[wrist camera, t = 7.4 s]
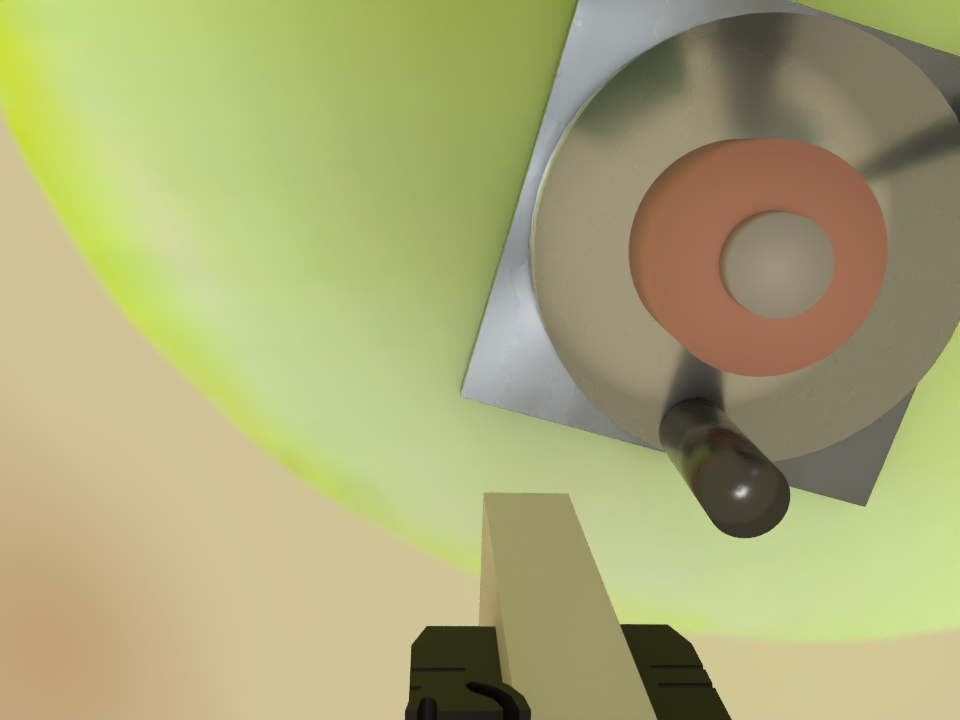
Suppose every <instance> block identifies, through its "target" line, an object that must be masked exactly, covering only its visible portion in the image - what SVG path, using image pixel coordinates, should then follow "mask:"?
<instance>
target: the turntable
mask: <svg viewBox="0 0 960 720" xmlns="http://www.w3.org/2000/svg"><path fill="white" fill-rule="evenodd" d="M728 139H784V140H794V141H801V142H805V143H809V144H813V145H816V146H819V147H821V148H824V149H826V150H828V151H830V152H832V153H834V154H835V155H837V156H839V157H841V158H842V159H843V160H845V161H846V162H847V163H848V164H850V165H851V166H852V167H853V168H854V169H855V170H856V171H857V172H858V173H859V174H860V175H861V176H862V177H863V178H864V180H865V181H866V182H867V184H868V185H869V187H870V188H871V190H872V191H873V193H874V195H875V197H876V199H877V201H878V203H879V205H880V208H881V211H882V214H883V217H884V221H885V226H886V231H887V243H888V254H887V266H886V271H885V276H884V280H883V283H882V286H881V289H880V292H879V295H878V297H877V299H876V301H875V303H874V305H873V308H872V309H871V311H870V313H869V314H868V316H867V317H866V319H865V320H864V322H863V323H862V325H861V326H860V327H859V328H858V329H857V331H856V332H855V333H854V334H853V335H852V336H851V337H850V338H849V339H848V340H847V341H846V342H845V343H844V344H843V345H842V346H841V347H839V348H838V349H837V350H835V351H834V352H833V353H832V354H830V355H829V356H827V357H825V358H824V359H822V360H820V361H819V362H817V363H815V364H813V365H810V366H808V367H806V368H804V369H801V370H798V371H794V372H791V373H788V374H782V375H776V376H765V377H753V376H742V375H737V374H733V373H728V372H725V371H723V370H720V369H717V368H714V367H713V366H711V365H709V364H707V363H705V362H703V361H701V360H700V359H698V358H697V357H696V356H694V355H693V354H691V353H690V352H689V351H688V350H687V349H686V348H685V347H684V346H682V345H681V344H680V343H679V342H678V341H677V340H676V339H675V338H674V337H673V336H672V335H671V334H669V333H668V332H667V331H666V330H665V329H664V328H663V327H662V326H661V325H660V324H659V323H658V322H657V321H656V320H654V318H653V317H652V316H651V315H650V313H649V312H648V311H647V310H646V308H645V307H644V305H643V303H642V302H641V300H640V298H639V296H638V294H637V291H636V289H635V287H634V284H633V280H632V276H631V273H630V265H629V239H630V231H631V227H632V224H633V220H634V216H635V214H636V212H637V209H638V207H639V204H640V202H641V201H642V199H643V197H644V195H645V193H646V192H647V190H648V189H649V187H650V186H651V185H652V183H653V182H654V181H655V179H656V178H657V177H658V176H659V175H660V174H661V173H662V172H663V171H664V170H665V169H666V168H667V167H668V166H670V165H671V164H672V163H673V162H675V161H676V160H677V159H679V158H680V157H682V156H683V155H685V154H687V153H688V152H690V151H692V150H694V149H697V148H699V147H701V146H704V145H707V144H710V143H713V142H717V141H722V140H728ZM530 271H531V277H532V283H533V289H534V296H535V300H536V303H537V306H538V310H539V313H540V316H541V320H542V323H543V325H544V327H545V330H546V332H547V334H548V336H549V338H550V341H551V343H552V345H553V347H554V349H555V351H556V353H557V356H558V358H559V360H560V361H561V363H562V364H563V366H564V367H565V369H566V371H567V372H568V374H569V375H570V377H571V378H572V380H573V382H574V383H575V384H576V385H577V386H578V388H579V389H580V390H581V391H582V392H583V394H584V395H585V396H586V397H587V398H588V399H589V401H590V402H591V403H592V404H593V405H594V406H595V407H597V408H598V409H599V410H600V411H601V412H602V413H603V414H604V415H605V416H607V417H608V418H609V419H610V420H611V421H612V422H614V423H615V424H617V425H618V426H620V427H621V428H623V429H624V430H626V431H627V432H628V433H630V434H631V435H633V436H635V437H637V438H639V439H641V440H643V441H645V442H647V443H649V444H651V445H653V446H655V447H657V448H659V449H662V450H665V452H666V453H667V455H668V456H669V458H670V459H671V461H672V462H673V464H674V465H675V467H676V468H677V470H678V471H679V473H680V474H681V476H682V477H683V479H684V480H685V482H686V483H687V485H688V486H689V488H690V489H691V491H692V492H693V494H694V495H695V497H696V498H697V500H698V501H699V503H700V504H701V506H702V507H703V509H704V510H705V512H706V513H707V515H708V516H709V518H710V519H711V521H712V522H713V524H714V525H715V526H716V527H717V528H718V529H719V530H721V531H722V532H724V533H725V534H727V535H730V536H733V537H737V538H752V537H756V536H760V535H762V534H765V533H767V532H768V531H770V530H771V529H773V528H774V527H775V526H776V525H777V524H778V523H779V522H780V521H781V520H782V519H783V517H784V515H785V514H786V512H787V509H788V506H789V502H790V489H789V484H788V482H787V480H786V478H785V476H784V475H783V474H782V472H781V471H780V470H779V469H778V468H777V467H776V466H775V465H774V464H773V463H772V462H774V461H779V460H785V459H791V458H795V457H798V456H801V455H805V454H808V453H811V452H815V451H818V450H821V449H823V448H825V447H828V446H830V445H832V444H835V443H837V442H839V441H841V440H844V439H846V438H848V437H849V436H851V435H853V434H855V433H856V432H858V431H860V430H861V429H863V428H865V427H867V426H868V425H870V424H871V423H873V422H874V421H875V420H877V419H878V418H879V417H881V416H882V415H883V414H885V413H886V412H887V411H889V410H890V409H892V408H893V407H894V406H895V405H896V404H897V403H898V402H899V401H900V400H901V399H903V398H904V397H905V396H906V395H907V394H908V393H909V392H910V391H911V390H912V389H913V388H914V387H915V386H916V385H917V384H918V383H919V381H920V380H921V379H922V378H923V377H924V375H925V374H926V373H927V372H928V371H929V369H930V368H931V367H932V366H933V365H934V363H935V362H936V360H937V359H938V357H939V356H940V354H941V353H942V351H943V350H944V348H945V346H946V345H947V343H948V342H949V340H950V339H951V337H952V335H953V333H954V331H955V329H956V327H957V325H958V323H959V321H960V123H959V121H958V119H957V117H956V115H955V113H954V112H953V110H952V109H951V107H950V106H949V104H948V103H947V101H946V100H945V98H944V97H943V95H942V94H941V92H940V91H939V89H938V88H937V87H936V86H935V85H934V84H933V83H932V82H931V80H930V79H929V78H928V77H927V76H926V75H925V74H924V73H923V72H922V70H921V69H920V68H919V67H917V66H916V65H915V64H914V63H913V62H911V61H910V60H909V59H908V58H906V57H905V56H904V55H903V54H902V53H900V52H899V51H898V50H897V49H895V48H894V47H892V46H890V45H889V44H887V43H885V42H883V41H882V40H880V39H878V38H877V37H875V36H873V35H872V34H870V33H867V32H865V31H863V30H860V29H858V28H855V27H853V26H850V25H848V24H846V23H843V22H839V21H835V20H831V19H827V18H823V17H819V16H815V15H808V14H798V13H788V12H770V13H750V14H745V15H739V16H734V17H728V18H723V19H719V20H715V21H712V22H709V23H706V24H703V25H700V26H697V27H694V28H691V29H688V30H686V31H684V32H681V33H679V34H677V35H675V36H673V37H671V38H669V39H667V40H664V41H662V42H660V43H658V44H656V45H654V46H652V47H650V48H648V49H647V50H645V51H644V52H642V53H641V54H639V55H638V56H636V57H635V58H633V59H631V60H630V61H628V62H627V63H625V64H624V65H623V66H622V67H620V68H619V69H618V70H617V71H616V72H615V73H613V74H612V75H611V76H610V77H609V78H608V79H606V80H605V81H604V82H603V83H602V84H601V85H600V86H599V87H598V88H597V89H596V90H595V91H594V92H593V93H592V95H591V96H590V97H589V98H588V99H587V100H586V101H585V102H584V103H583V105H582V106H581V107H580V108H579V110H578V111H577V113H576V114H575V115H574V117H573V118H572V120H571V121H570V122H569V124H568V125H567V127H566V128H565V130H564V131H563V133H562V135H561V137H560V139H559V141H558V142H557V144H556V146H555V148H554V150H553V152H552V154H551V156H550V158H549V160H548V163H547V166H546V168H545V171H544V174H543V176H542V179H541V182H540V184H539V188H538V192H537V197H536V201H535V205H534V209H533V214H532V223H531V233H530Z"/></svg>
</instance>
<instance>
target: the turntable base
mask: <svg viewBox="0 0 960 720" xmlns="http://www.w3.org/2000/svg"><path fill="white" fill-rule="evenodd" d="M770 12H788V13H798V14H808V15H815V16H819V17H823V18H827V19H831V20H835V21H839V22H843V23H846V24H848V25H850V26H853V27H855V28H858V29H860V30H863V31H865V32H867V33H870V34H872V35H873V36H875V37H877V38H878V39H880V40H882V41H883V42H885V43H887V44H889V45H890V46H892V47H894V48H895V49H897V50H898V51H899V52H900V53H902V54H903V55H904V56H905V57H906V58H908V59H909V60H910V61H911V62H913V63H914V64H915V65H916V66H917V67H919V68H920V69H921V70H922V72H923V73H924V74H925V75H926V76H927V77H928V78H929V79H930V80H931V82H932V83H933V84H934V85H935V86H936V87H937V88H938V89H939V91H940V92H941V94H942V95H943V97H944V98H945V100H946V101H947V103H948V104H949V106H950V107H951V109H952V110H953V112H954V113H955V115H956V117H957V119H958V121H959V123H960V57H959V56H956V55H953V54H950V53H946V52H943V51H940V50H937V49H934V48H931V47H928V46H925V45H922V44H919V43H916V42H913V41H910V40H907V39H904V38H901V37H898V36H895V35H892V34H889V33H886V32H883V31H880V30H877V29H874V28H870V27H867V26H864V25H861V24H858V23H855V22H852V21H849V20H846V19H843V18H840V17H837V16H834V15H831V14H828V13H825V12H822V11H819V10H816V9H813V8H810V7H807V6H804V5H801V4H797V3H794V2H791V1H788V0H577V1H576V4H575V8H574V11H573V14H572V18H571V21H570V24H569V28H568V31H567V34H566V38H565V41H564V44H563V48H562V51H561V55H560V58H559V61H558V65H557V68H556V71H555V75H554V78H553V81H552V85H551V88H550V91H549V95H548V98H547V101H546V105H545V108H544V111H543V115H542V118H541V122H540V125H539V128H538V132H537V135H536V138H535V142H534V145H533V148H532V152H531V155H530V158H529V162H528V165H527V168H526V172H525V175H524V179H523V182H522V185H521V189H520V192H519V195H518V199H517V202H516V205H515V209H514V212H513V215H512V219H511V222H510V225H509V229H508V232H507V235H506V239H505V242H504V246H503V249H502V252H501V256H500V259H499V262H498V266H497V269H496V272H495V276H494V279H493V282H492V286H491V289H490V292H489V296H488V299H487V302H486V306H485V309H484V313H483V316H482V319H481V323H480V326H479V329H478V333H477V336H476V339H475V343H474V346H473V349H472V353H471V356H470V359H469V363H468V366H467V369H466V373H465V376H464V380H463V383H462V386H461V390H460V397H463V398H467V399H470V400H474V401H478V402H481V403H485V404H489V405H492V406H496V407H500V408H503V409H507V410H511V411H514V412H518V413H522V414H525V415H529V416H533V417H537V418H540V419H544V420H548V421H551V422H555V423H559V424H562V425H566V426H570V427H573V428H577V429H581V430H584V431H588V432H592V433H595V434H599V435H603V436H606V437H610V438H614V439H618V440H621V441H625V442H629V443H632V444H636V445H640V446H643V447H647V448H651V449H654V450H658V451H662V452H665V450H662V449H659V448H657V447H655V446H653V445H651V444H649V443H647V442H645V441H643V440H641V439H639V438H637V437H635V436H633V435H631V434H630V433H628V432H627V431H626V430H624V429H623V428H621V427H620V426H618V425H617V424H615V423H614V422H612V421H611V420H610V419H609V418H608V417H607V416H605V415H604V414H603V413H602V412H601V411H600V410H599V409H598V408H597V407H595V406H594V405H593V404H592V403H591V402H590V401H589V399H588V398H587V397H586V396H585V395H584V394H583V392H582V391H581V390H580V389H579V388H578V386H577V385H576V384H575V383H574V382H573V380H572V378H571V377H570V375H569V374H568V372H567V371H566V369H565V367H564V366H563V364H562V363H561V361H560V360H559V358H558V356H557V353H556V351H555V349H554V347H553V345H552V343H551V341H550V338H549V336H548V334H547V332H546V330H545V327H544V325H543V323H542V320H541V316H540V313H539V310H538V306H537V303H536V300H535V296H534V289H533V283H532V277H531V271H530V233H531V223H532V214H533V209H534V205H535V201H536V197H537V192H538V188H539V184H540V182H541V179H542V176H543V174H544V171H545V168H546V166H547V163H548V160H549V158H550V156H551V154H552V152H553V150H554V148H555V146H556V144H557V142H558V141H559V139H560V137H561V135H562V133H563V131H564V130H565V128H566V127H567V125H568V124H569V122H570V121H571V120H572V118H573V117H574V115H575V114H576V113H577V111H578V110H579V108H580V107H581V106H582V105H583V103H584V102H585V101H586V100H587V99H588V98H589V97H590V96H591V95H592V93H593V92H594V91H595V90H596V89H597V88H598V87H599V86H600V85H601V84H602V83H603V82H604V81H605V80H606V79H608V78H609V77H610V76H611V75H612V74H613V73H615V72H616V71H617V70H618V69H619V68H620V67H622V66H623V65H624V64H625V63H627V62H628V61H630V60H631V59H633V58H635V57H636V56H638V55H639V54H641V53H642V52H644V51H645V50H647V49H648V48H650V47H652V46H654V45H656V44H658V43H660V42H662V41H664V40H667V39H669V38H671V37H673V36H675V35H677V34H679V33H681V32H684V31H686V30H688V29H691V28H694V27H697V26H700V25H703V24H706V23H709V22H712V21H715V20H719V19H723V18H728V17H734V16H739V15H745V14H750V13H770ZM916 386H917V385H916ZM916 386H915V387H914V388H913V389H912V390H911V391H910V392H909V393H908V394H907V395H906V396H905V397H904V398H903V399H901V400H900V401H899V402H898V403H897V404H896V405H895V406H894V407H893V408H892V409H890V410H889V411H887V412H886V413H885V414H883V415H882V416H881V417H879V418H878V419H877V420H875V421H874V422H873V423H871V424H870V425H868V426H867V427H865V428H863V429H861V430H860V431H858V432H856V433H855V434H853V435H851V436H849V437H848V438H846V439H844V440H841V441H839V442H837V443H835V444H832V445H830V446H828V447H825V448H823V449H821V450H818V451H815V452H811V453H808V454H805V455H801V456H798V457H795V458H791V459H785V460H779V461H774V462H772V463H773V464H774V465H775V466H776V467H777V468H778V469H779V470H780V471H781V472H782V474H783V475H784V476H785V478H786V480H787V482H788V484H789V486H791V487H794V488H798V489H802V490H805V491H809V492H813V493H816V494H820V495H824V496H827V497H831V498H835V499H838V500H842V501H846V502H849V503H853V504H857V505H860V506H864V507H865V506H866V504H867V502H868V499H869V497H870V494H871V492H872V490H873V487H874V485H875V483H876V480H877V478H878V476H879V473H880V471H881V469H882V466H883V464H884V461H885V459H886V457H887V454H888V452H889V450H890V447H891V445H892V443H893V440H894V438H895V435H896V433H897V431H898V428H899V426H900V424H901V421H902V419H903V417H904V414H905V412H906V410H907V407H908V405H909V402H910V400H911V398H912V395H913V393H914V391H915V388H916ZM665 453H666V452H665Z"/></svg>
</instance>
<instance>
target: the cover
mask: <svg viewBox="0 0 960 720" xmlns="http://www.w3.org/2000/svg"><path fill="white" fill-rule="evenodd" d="M887 254H888V243H887V231H886V226H885V221H884V217H883V214H882V211H881V208H880V205H879V203H878V201H877V199H876V197H875V195H874V193H873V191H872V190H871V188H870V187H869V185H868V184H867V182H866V181H865V180H864V178H863V177H862V176H861V175H860V174H859V173H858V172H857V171H856V170H855V169H854V168H853V167H852V166H851V165H850V164H848V163H847V162H846V161H845V160H843V159H842V158H841V157H839V156H837V155H835V154H834V153H832V152H830V151H828V150H826V149H824V148H821V147H819V146H816V145H813V144H809V143H805V142H801V141H794V140H784V139H728V140H722V141H717V142H713V143H710V144H707V145H704V146H701V147H699V148H697V149H694V150H692V151H690V152H688V153H687V154H685V155H683V156H682V157H680V158H679V159H677V160H676V161H675V162H673V163H672V164H671V165H670V166H668V167H667V168H666V169H665V170H664V171H663V172H662V173H661V174H660V175H659V176H658V177H657V178H656V179H655V181H654V182H653V183H652V185H651V186H650V187H649V189H648V190H647V192H646V193H645V195H644V197H643V199H642V201H641V202H640V204H639V207H638V209H637V212H636V214H635V216H634V220H633V224H632V227H631V231H630V239H629V265H630V273H631V276H632V280H633V284H634V287H635V289H636V291H637V294H638V296H639V298H640V300H641V302H642V303H643V305H644V307H645V308H646V310H647V311H648V312H649V313H650V315H651V316H652V317H653V318H654V320H656V321H657V322H658V323H659V324H660V325H661V326H662V327H663V328H664V329H665V330H666V331H667V332H668V333H669V334H671V335H672V336H673V337H674V338H675V339H676V340H677V341H678V342H679V343H680V344H681V345H682V346H684V347H685V348H686V349H687V350H688V351H689V352H690V353H691V354H693V355H694V356H696V357H697V358H698V359H700V360H701V361H703V362H705V363H707V364H709V365H711V366H713V367H714V368H717V369H720V370H723V371H725V372H728V373H733V374H737V375H742V376H753V377H765V376H776V375H782V374H788V373H791V372H794V371H798V370H801V369H804V368H806V367H808V366H810V365H813V364H815V363H817V362H819V361H820V360H822V359H824V358H825V357H827V356H829V355H830V354H832V353H833V352H834V351H835V350H837V349H838V348H839V347H841V346H842V345H843V344H844V343H845V342H846V341H847V340H848V339H849V338H850V337H851V336H852V335H853V334H854V333H855V332H856V331H857V329H858V328H859V327H860V326H861V325H862V323H863V322H864V320H865V319H866V317H867V316H868V314H869V313H870V311H871V309H872V308H873V305H874V303H875V301H876V299H877V297H878V295H879V292H880V289H881V286H882V283H883V280H884V276H885V271H886V266H887Z"/></svg>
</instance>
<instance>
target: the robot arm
mask: <svg viewBox="0 0 960 720" xmlns="http://www.w3.org/2000/svg"><path fill="white" fill-rule="evenodd" d="M480 586H481V587H480V612H479V626H427V627H426V628H425V629H424V630H423V632H422V633H421V634H420V635H419V637H418V638H417V639H416V640H415V642H414V643H413V644H412V646H411V668H410V669H411V670H410V691H409V702H408V705H407V708H406V710H405V720H731V718H730V716H729V714H728V712H727V710H726V708H725V706H724V704H723V703H722V701H721V699H720V697H719V695H718V693H717V691H716V689H715V688H713V687H712V682H711V680H710V678H709V676H708V674H707V672H706V670H703V665H702V663H701V661H700V659H699V657H698V655H697V653H696V651H695V649H694V647H693V646H692V644H691V643H690V642H689V641H688V640H686V639H685V638H684V637H683V636H681V635H680V634H679V633H678V632H676V631H675V630H674V629H672V628H671V627H670V626H669V625H647V624H619V622H618V619H617V616H616V614H615V611H614V609H613V606H612V604H611V601H610V599H609V596H608V594H607V591H606V589H605V586H604V584H603V581H602V579H601V576H600V573H599V571H598V568H597V566H596V563H595V561H594V558H593V556H592V553H591V551H590V548H589V546H588V543H587V541H586V538H585V536H584V533H583V530H582V528H581V525H580V523H579V520H578V518H577V515H576V513H575V510H574V508H573V505H572V503H571V500H570V498H569V495H568V494H557V493H484V500H483V528H482V556H481V584H480Z"/></svg>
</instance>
